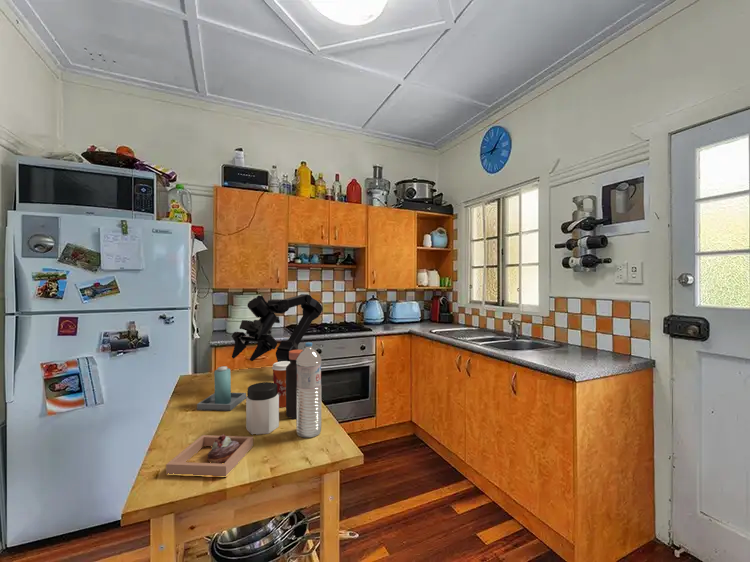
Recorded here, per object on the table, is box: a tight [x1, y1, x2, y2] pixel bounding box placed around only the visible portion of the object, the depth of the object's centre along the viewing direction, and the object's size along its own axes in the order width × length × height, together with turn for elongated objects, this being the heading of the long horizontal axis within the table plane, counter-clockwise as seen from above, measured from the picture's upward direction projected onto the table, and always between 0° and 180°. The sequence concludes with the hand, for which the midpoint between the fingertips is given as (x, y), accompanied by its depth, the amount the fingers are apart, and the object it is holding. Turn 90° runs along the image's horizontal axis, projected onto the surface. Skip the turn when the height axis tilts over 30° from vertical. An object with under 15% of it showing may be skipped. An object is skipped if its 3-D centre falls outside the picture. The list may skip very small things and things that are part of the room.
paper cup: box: [271, 361, 290, 409], centre depth 113 cm, size 8×8×14 cm
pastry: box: [207, 433, 241, 464], centre depth 80 cm, size 8×8×5 cm
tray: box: [196, 392, 247, 412], centre depth 113 cm, size 11×11×2 cm
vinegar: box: [285, 349, 304, 420], centre depth 104 cm, size 7×7×20 cm
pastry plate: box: [165, 434, 254, 476], centre depth 78 cm, size 13×13×2 cm
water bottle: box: [295, 341, 322, 439], centre depth 92 cm, size 7×7×25 cm
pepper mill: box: [213, 365, 232, 404], centre depth 113 cm, size 5×5×12 cm
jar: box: [245, 381, 280, 436], centre depth 95 cm, size 9×8×12 cm
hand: (241, 359), depth 120 cm, fingers open, 9 cm apart
